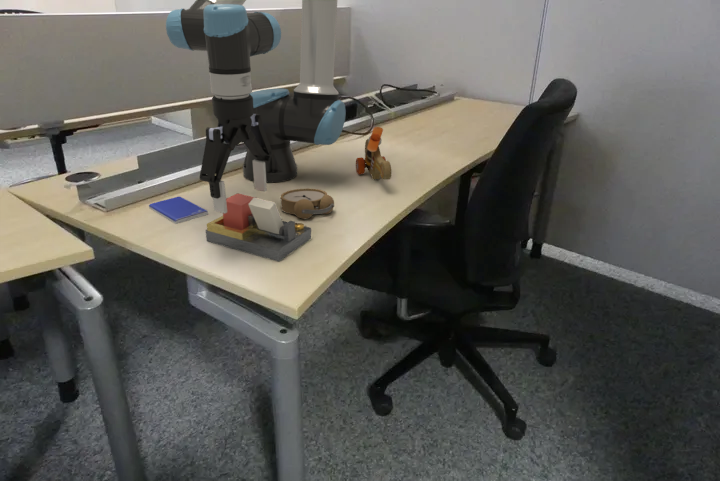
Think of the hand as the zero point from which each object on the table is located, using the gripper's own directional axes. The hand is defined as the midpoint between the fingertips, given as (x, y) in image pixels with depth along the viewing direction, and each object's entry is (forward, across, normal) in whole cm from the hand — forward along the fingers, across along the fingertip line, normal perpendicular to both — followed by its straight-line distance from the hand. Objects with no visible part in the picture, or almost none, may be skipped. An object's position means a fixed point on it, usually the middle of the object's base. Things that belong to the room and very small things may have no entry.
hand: (241, 200), depth 107 cm
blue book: (+9, +2, +21) cm, 23 cm away
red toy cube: (+5, -1, 0) cm, 6 cm away
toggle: (+4, -1, -8) cm, 9 cm away
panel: (+8, 0, -4) cm, 9 cm away
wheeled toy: (+10, +47, -9) cm, 49 cm away
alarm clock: (+9, +19, -4) cm, 21 cm away
